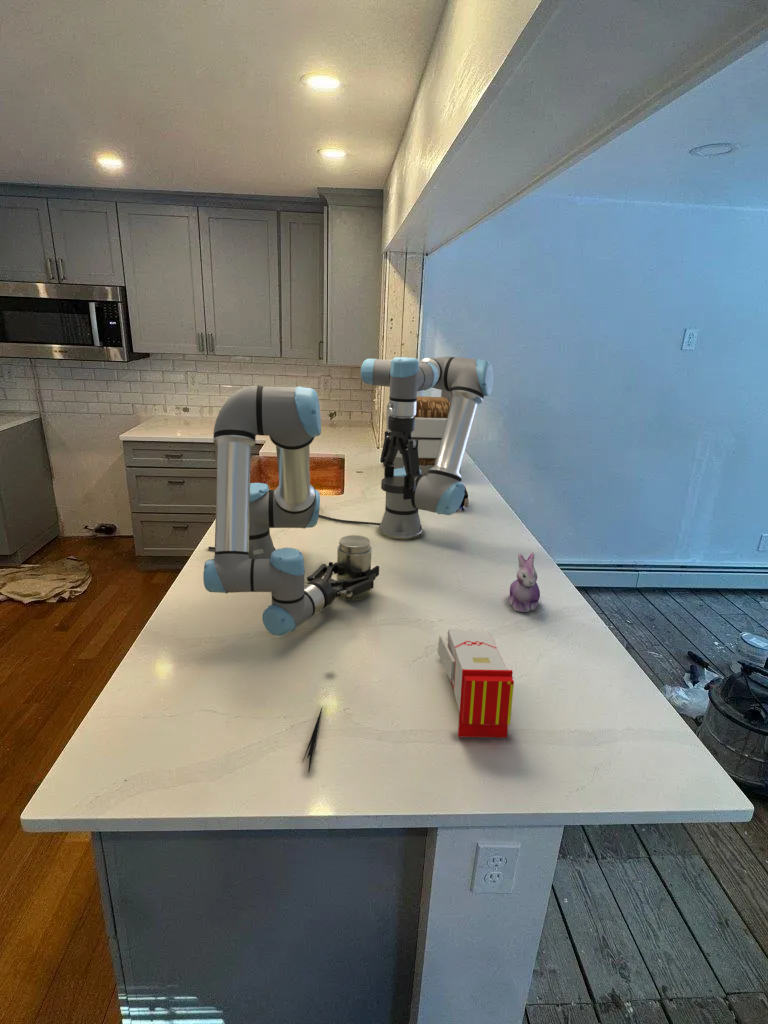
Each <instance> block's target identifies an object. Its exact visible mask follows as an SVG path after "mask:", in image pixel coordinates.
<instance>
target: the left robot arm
mask: <svg viewBox="0 0 768 1024" xmlns="http://www.w3.org/2000/svg"><path fill="white" fill-rule="evenodd" d="M320 407H321V406H320V400H319V395H318V392H317V391H316V389H314V388H313V387H302V386H300V385H298V386H275V385H274V386H273V385H272V386H269V385H268V386H267V385H262V386H261V385H248V386H243V387H242V388H240V389H238V390H236V392H233V394H231V396H229V397H228V399H227V400H226V401H225V402H224V404H223V405H222V407H221V408H220V410H219V412H218V415H217V417H216V419H215V421H214V422H215V423H214V427H213V437H212V438H213V439H212V440H213V443H214V445H216V446H217V456H216V457H217V458H216V491H215V493H216V494H215V523H214V524H215V527H214V528H215V529H214V532H215V533H214V546H208V547H207V548H208V550H211V551H214V556H213V558H210V559H207V560H206V561H204V566H203V573H202V575H203V586H204V589H205V590H206V591H207V592H208V593H220V594H221V593H222V594H229V593H230V594H231V593H271V604H269V605H268V607H266V608H265V609H264V611H263V612H262V615H261V619H262V624H263V626H264V629H266V631H267V632H268V633H269V634H270V635H273V636H276V637H284V636H285V635H287V634H289V633H291V632H293V631H295V630H296V629H297V628H298V627H300V626H301V625H302V624H304V623H305V622H306V621H309V620H310V619H311V618H312V617H314V616H316V615H317V614H318V613H320V612H321V611H322V610H325V609H326V608H327V607H329V606H330V605H331V604H333V602H334V600H335V599H336V598H341V597H340V596H341V595H342V596H346V599H345V600H346V601H351V600H350V599H351V598H352V597H354V596H356V595H358V594H361V593H363V592H365V591H368V590H370V591H371V590H373V589H374V587H375V586H374V585H375V583H374V581H375V580H376V578H377V577H378V576H380V566H379V565H376V566H374V567H373V568H371V570H370V571H368V572H367V573H365V574H364V576H363V577H359V578H354V579H350V580H345V579H343V580H338V581H337V579H334V578H332V577H333V574H334V575H337V561H336V562H334V563H333V562H332V561H331V562H330V561H329V562H328V565H327V564H326V563H322V564H320V566H319V567H318V568H317V569H316V570H315V571H314V572H313V573H312V574H310V575H308V576H306V584H305V573H306V570H305V557H304V554H303V553H302V551H300V550H299V549H297V548H292V547H282V548H277V549H276V547H275V546H274V543H273V540H272V536H271V532H270V531H271V529H309V528H315V527H316V526H317V525H318V521H319V518H320V517H319V515H320V509H321V508H320V507H321V495H320V491H319V490H317V489H316V488H315V487H314V486H313V485H312V484H311V474H310V473H311V470H310V469H311V468H310V467H311V466H310V465H311V464H310V462H311V461H310V453H311V452H310V451H311V450H310V445H311V444H312V443H313V442H314V441H315V438H316V437H319V436H321V434H322V417H321V408H320ZM257 436H269V439H270V441H271V442H272V444H274V445H275V449H276V459H277V461H276V462H277V472H278V485H277V487H276V489H270V487H269V485H268V484H267V483H264V482H251V465H252V460H251V459H252V448H253V447H254V446H255V445H256V439H257V438H256V437H257ZM313 487H314V488H315V489H314V488H313Z"/></svg>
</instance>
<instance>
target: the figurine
mask: <svg viewBox="0 0 768 1024" xmlns="http://www.w3.org/2000/svg"><path fill="white" fill-rule="evenodd" d="M517 559H518V569H517V572H516V579H515V580H514V581H512V582H511V584H510V586H509V595H508V604H509V606H511V607H512V609H513V611H516V612H521V613H528V612H530V611H534V610H536V608H537V606H538V604H539V601H540V598H541V592H540V591H541V590H540V588H539V585H538V583H537V581H538V573H537V571H536V568H535V566H534V561H535V553H534V552H530V553H529V555H528V557H527V559H525V557H524V556H523V554H522V553H518V556H517Z"/></svg>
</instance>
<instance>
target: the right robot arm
mask: <svg viewBox="0 0 768 1024" xmlns="http://www.w3.org/2000/svg"><path fill="white" fill-rule="evenodd" d="M360 378H361V381H362V382H363V383H364V384H366V385H370V386H378V387H388V388H389V396H388V403H389V414H390V416H389V417H388V429H389V430H390V431H386V430H384V439H383V445H382V449H381V454H380V455H381V456H380V460H379V461H380V463H381V464H383V467H384V469H383V470H384V471H383V472H384V473H383V475H384V477H383V478H386V477H391V476H400V477H404V492H403V494H395V493H389V492H386V491H385V504H384V505H385V507H384V508H385V509H384V513H383V515H382V519H381V522H370V521H357V520H346V519H340V518H335V517H330V516H325V515H322V514H319V517H318V518H322V519H326V520H329V521H334V522H339V523H340V522H341V523H345V524H346V523H347V524H358V525H371V526H378V533H379V534H380V535H381V536H382V537H385V538H387V539H389V540H395V541H410V540H415V539H418V538H420V537H421V536H422V535H423V525H422V524H421V518H420V515H419V510H421V511H426V512H429V513H435V514H437V515H445V516H452V515H453V514H455V513H456V512H457V511H458V510H459V509H460V508H459V507H460V505H461V503H462V500H463V498H464V491H465V487H466V485H465V484H464V483H463V482H462V481H463V477H462V475H461V474H459V470H460V467H461V468H462V462H463V459H464V455H465V451H466V447H467V444H468V441H469V437H470V433H471V429H472V427H473V426H472V425H473V422H474V417H475V414H476V410H477V407H478V405H480V404H482V403H483V401H484V398H485V397H488V396H491V393H492V391H493V388H494V370H493V366H492V364H491V362H490V361H488V360H487V359H479V358H469V357H457V356H440V357H439V356H438V357H426V358H425V357H424V358H422V359H421V360H419V359H418V358H417V357H409V356H408V357H407V356H396V357H393V358H392V359H382V358H380V359H379V358H366V359H365V360H364V361H363V362H362V364H361V367H360ZM429 389H436V390H440V391H442V390H444V391H450V393H449V395H450V396H451V398H452V402H451V406H450V410H449V413H448V417H447V421H446V424H445V428H444V432H443V436H442V439H441V443H440V447H439V450H438V454H437V458H436V461H435V465H434V466H431V467H430V468H428V469H427V470H428V471H427V474H425V475H424V474H422V470H421V468H420V466H419V457H418V440H413V439H412V437H411V433H412V431H414V430H415V421H416V418H415V417H414V416H415V415H416V407H417V396H418V392H421V391H427V390H429ZM407 448H408V450H406V449H407ZM398 450H399V452H400V454H402V458H403V463H404V468H397V469H394V467H393V464H394V463H393V462H394V460H395V457H396V455H397V452H398ZM384 457H386V458H384ZM414 480H415V481H416V488H415V491H414V492H413V488H414Z"/></svg>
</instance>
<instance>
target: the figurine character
mask: <svg viewBox="0 0 768 1024" xmlns="http://www.w3.org/2000/svg"><path fill="white" fill-rule="evenodd" d="M469 505H470V500H469V492H468V490H467V488H466V486H465V491H464V498H463V500H462V503H461V505H460V507H459V508H458V509H461V511H462V512H464V511H465V508H469Z"/></svg>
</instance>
